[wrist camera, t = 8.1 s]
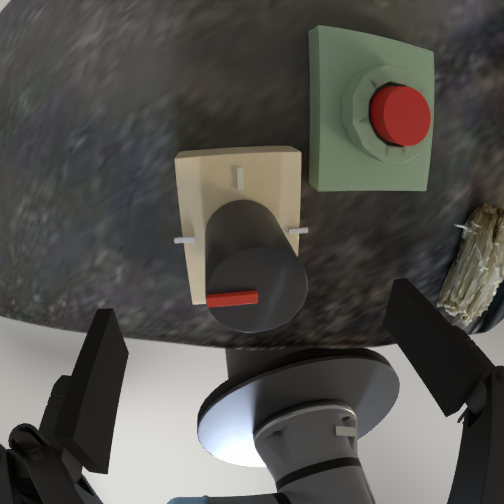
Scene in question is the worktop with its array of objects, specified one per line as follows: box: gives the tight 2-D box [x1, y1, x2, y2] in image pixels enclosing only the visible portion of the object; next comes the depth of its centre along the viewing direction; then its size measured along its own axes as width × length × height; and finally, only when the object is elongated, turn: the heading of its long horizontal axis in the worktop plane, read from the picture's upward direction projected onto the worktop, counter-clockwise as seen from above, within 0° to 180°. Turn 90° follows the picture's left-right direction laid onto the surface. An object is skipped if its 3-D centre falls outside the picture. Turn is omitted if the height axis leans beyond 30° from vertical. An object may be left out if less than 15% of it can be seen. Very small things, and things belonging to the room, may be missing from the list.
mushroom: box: [437, 203, 504, 327], centre depth 27 cm, size 14×10×5 cm, turn 175°
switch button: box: [370, 86, 431, 146], centre depth 17 cm, size 4×4×2 cm
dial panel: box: [174, 146, 308, 305], centre depth 22 cm, size 11×9×3 cm
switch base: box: [308, 25, 434, 191], centre depth 19 cm, size 12×10×4 cm
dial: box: [205, 200, 308, 333], centre depth 17 cm, size 5×5×7 cm
